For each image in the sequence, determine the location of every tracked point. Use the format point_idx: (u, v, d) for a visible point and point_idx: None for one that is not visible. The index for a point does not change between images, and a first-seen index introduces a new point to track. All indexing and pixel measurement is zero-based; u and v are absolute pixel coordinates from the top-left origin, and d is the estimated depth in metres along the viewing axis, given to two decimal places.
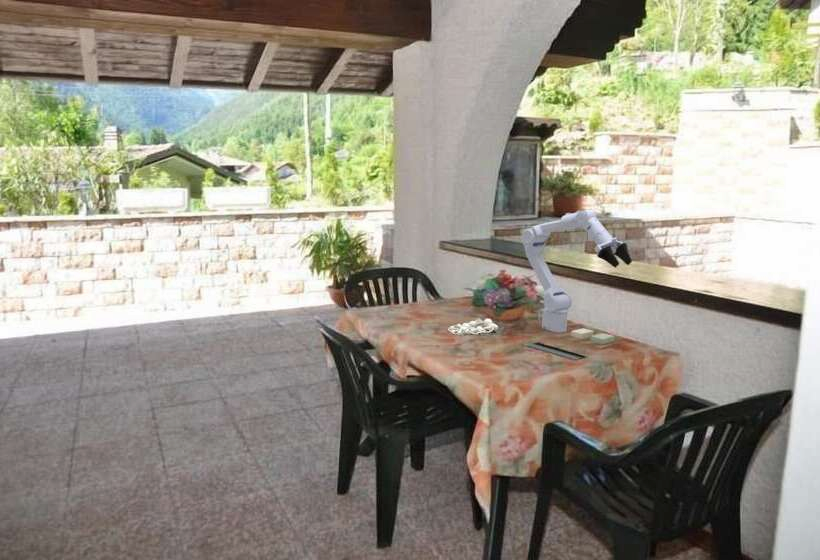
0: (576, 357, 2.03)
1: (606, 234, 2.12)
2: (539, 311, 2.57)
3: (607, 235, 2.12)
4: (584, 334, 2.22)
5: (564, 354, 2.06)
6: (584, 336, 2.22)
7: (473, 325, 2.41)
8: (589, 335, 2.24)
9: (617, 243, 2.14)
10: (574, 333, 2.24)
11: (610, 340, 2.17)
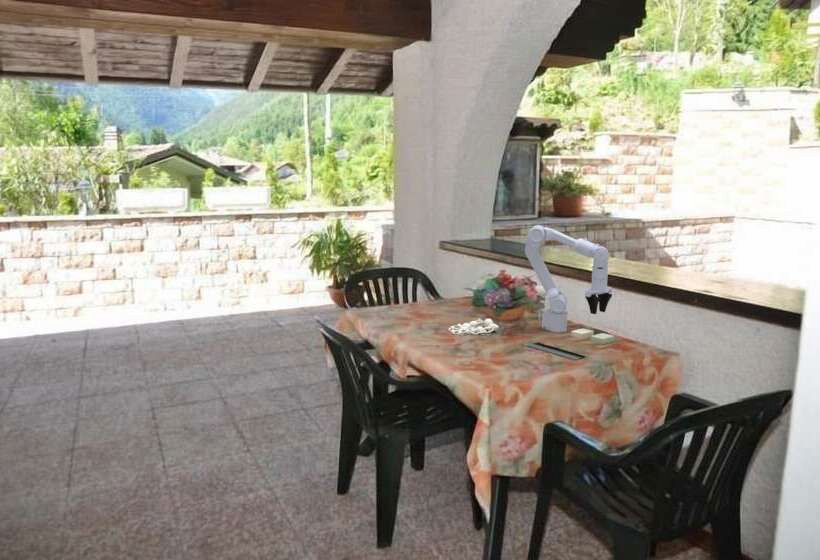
0: (576, 357, 2.03)
1: (604, 283, 2.25)
2: (539, 311, 2.57)
3: (604, 284, 2.25)
4: (584, 334, 2.22)
5: (564, 354, 2.06)
6: (584, 336, 2.22)
7: (473, 325, 2.41)
8: (589, 335, 2.24)
9: None
10: (574, 333, 2.24)
11: (610, 340, 2.17)
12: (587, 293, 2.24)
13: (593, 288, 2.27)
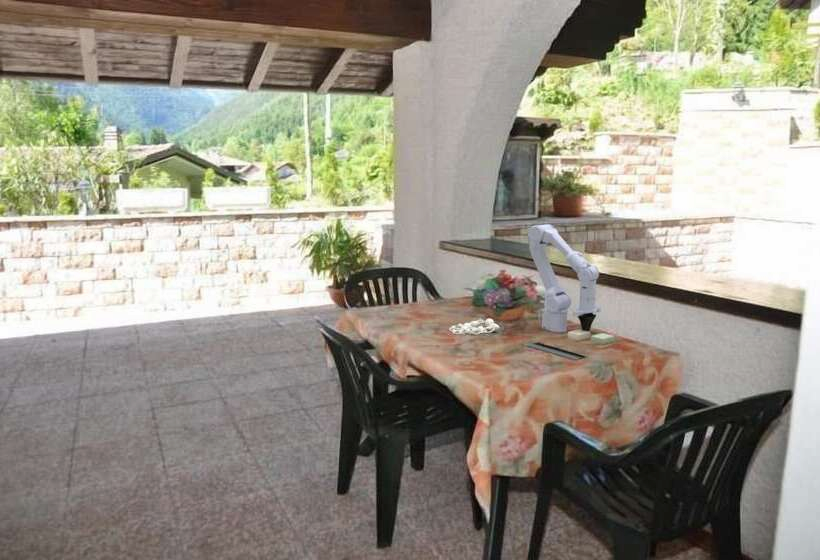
0: (576, 357, 2.03)
1: (591, 303, 2.22)
2: (539, 311, 2.57)
3: (591, 304, 2.22)
4: (581, 335, 2.21)
5: (564, 354, 2.06)
6: (581, 337, 2.21)
7: (474, 325, 2.41)
8: (586, 336, 2.23)
9: None
10: (571, 334, 2.23)
11: (610, 340, 2.17)
12: (575, 313, 2.21)
13: (581, 308, 2.24)
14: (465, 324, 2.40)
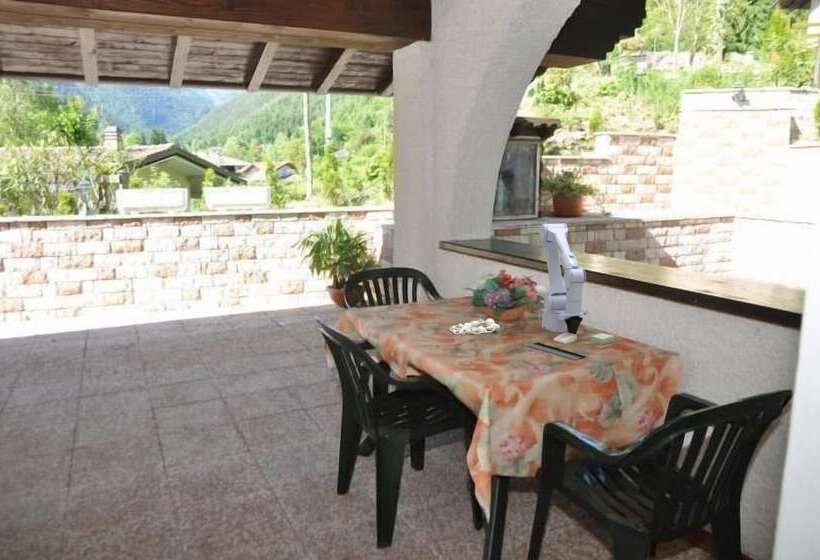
0: (576, 357, 2.03)
1: (578, 306, 2.17)
2: (539, 311, 2.57)
3: (578, 307, 2.17)
4: (567, 341, 2.16)
5: (564, 354, 2.06)
6: None
7: (475, 325, 2.41)
8: (572, 340, 2.18)
9: None
10: (557, 340, 2.18)
11: (610, 340, 2.17)
12: (561, 316, 2.16)
13: (567, 311, 2.19)
14: (465, 324, 2.40)
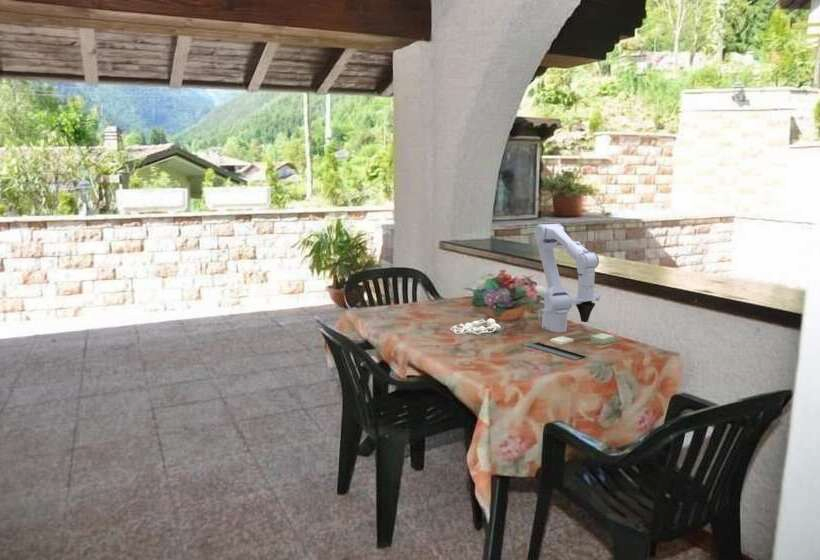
0: (576, 357, 2.03)
1: (590, 291, 2.15)
2: (539, 311, 2.57)
3: (590, 292, 2.15)
4: (563, 342, 2.15)
5: (564, 354, 2.06)
6: None
7: (476, 325, 2.42)
8: None
9: None
10: (553, 341, 2.17)
11: (610, 340, 2.17)
12: (572, 301, 2.14)
13: (579, 296, 2.17)
14: (466, 324, 2.40)
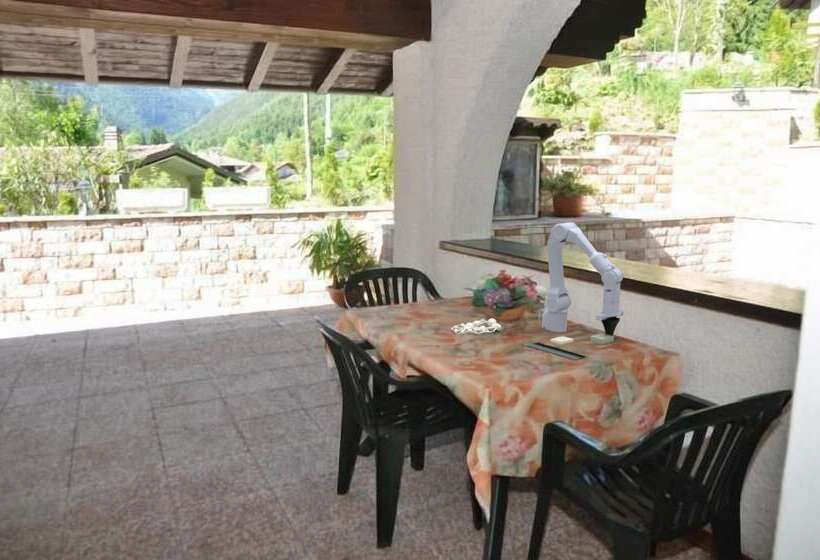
0: (576, 357, 2.03)
1: (616, 306, 2.16)
2: (539, 311, 2.57)
3: (616, 308, 2.16)
4: (563, 342, 2.15)
5: (564, 354, 2.06)
6: None
7: (477, 325, 2.42)
8: None
9: None
10: (553, 341, 2.17)
11: (610, 340, 2.17)
12: (598, 317, 2.15)
13: (604, 311, 2.18)
14: (467, 324, 2.41)
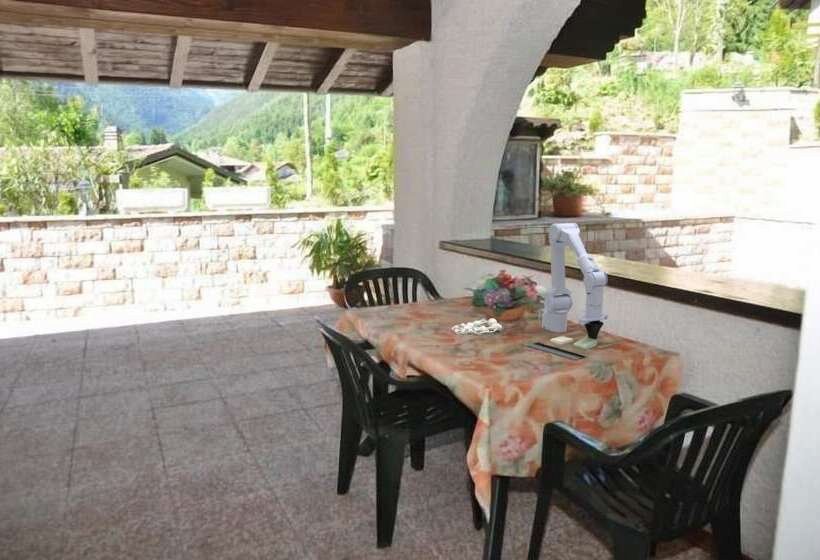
0: (576, 357, 2.03)
1: (599, 310, 2.10)
2: (539, 311, 2.57)
3: (599, 311, 2.10)
4: (563, 342, 2.15)
5: (564, 354, 2.06)
6: None
7: (477, 325, 2.42)
8: None
9: None
10: (553, 341, 2.17)
11: (593, 345, 2.11)
12: (581, 321, 2.09)
13: (587, 315, 2.12)
14: (468, 324, 2.41)
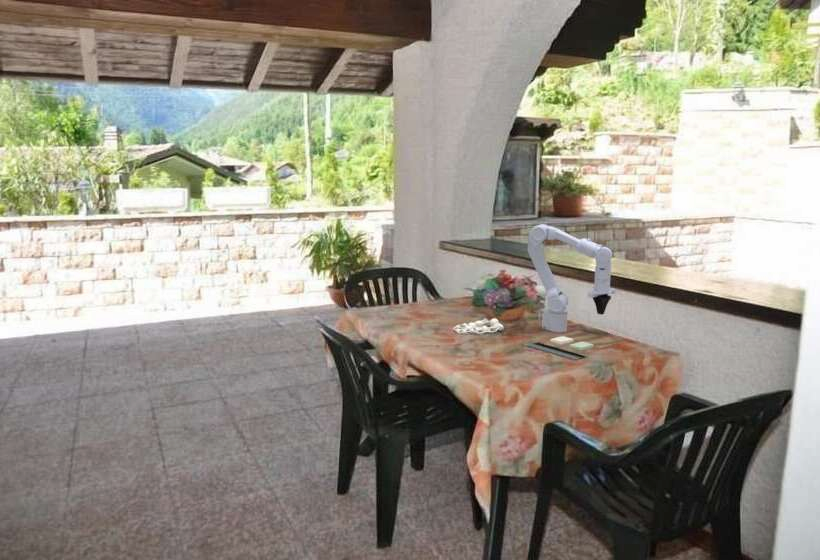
0: (576, 357, 2.03)
1: (606, 284, 2.23)
2: (539, 311, 2.57)
3: (607, 285, 2.23)
4: (563, 342, 2.15)
5: (564, 354, 2.06)
6: None
7: (479, 325, 2.42)
8: None
9: None
10: (553, 341, 2.17)
11: None
12: (590, 294, 2.22)
13: (596, 289, 2.25)
14: (469, 324, 2.41)
